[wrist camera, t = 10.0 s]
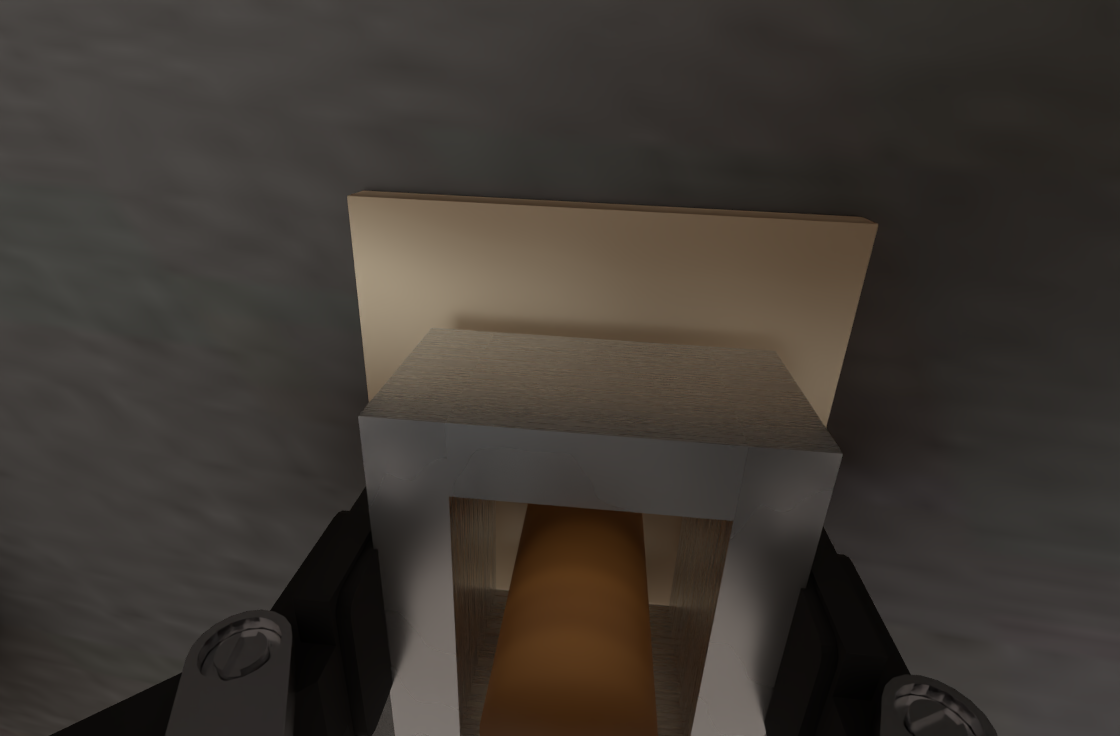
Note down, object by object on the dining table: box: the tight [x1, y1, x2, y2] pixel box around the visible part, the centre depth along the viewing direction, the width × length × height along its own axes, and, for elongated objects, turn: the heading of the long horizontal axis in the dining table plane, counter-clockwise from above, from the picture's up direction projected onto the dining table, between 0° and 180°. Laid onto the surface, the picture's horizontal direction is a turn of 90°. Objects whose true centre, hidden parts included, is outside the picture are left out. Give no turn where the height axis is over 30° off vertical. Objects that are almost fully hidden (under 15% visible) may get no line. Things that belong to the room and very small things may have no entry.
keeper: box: [347, 191, 878, 736], centre depth 11 cm, size 12×10×8 cm
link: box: [358, 328, 843, 736], centre depth 11 cm, size 8×6×4 cm
